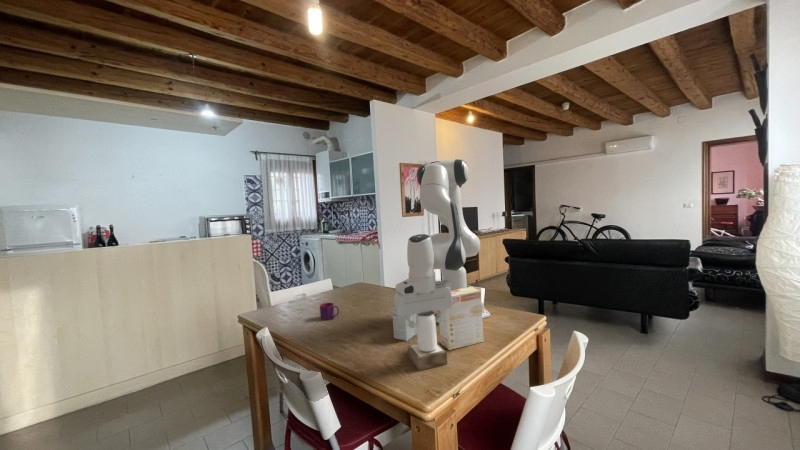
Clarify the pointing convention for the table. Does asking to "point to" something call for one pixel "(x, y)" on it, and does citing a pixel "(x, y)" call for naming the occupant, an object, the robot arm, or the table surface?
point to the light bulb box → (403, 327)
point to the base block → (427, 357)
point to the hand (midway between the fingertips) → (425, 324)
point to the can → (426, 331)
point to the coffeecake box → (462, 319)
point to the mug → (327, 311)
